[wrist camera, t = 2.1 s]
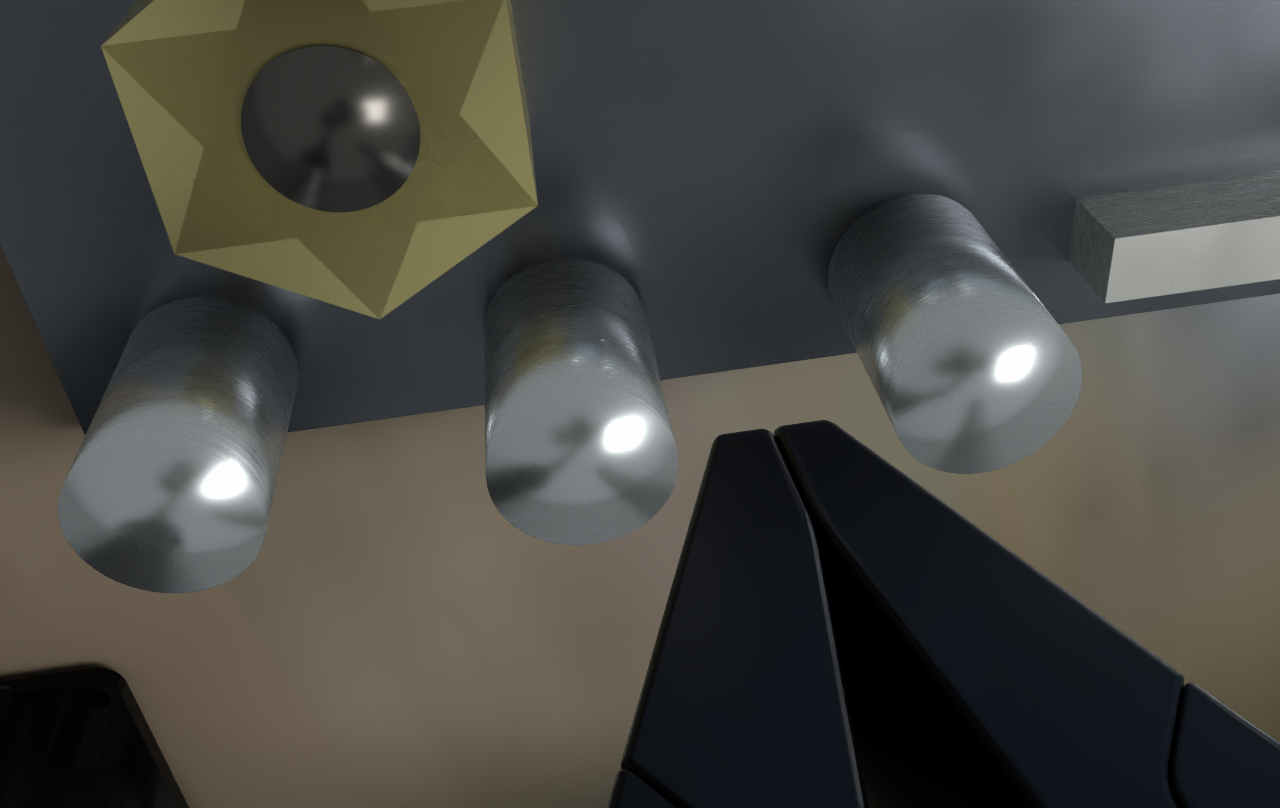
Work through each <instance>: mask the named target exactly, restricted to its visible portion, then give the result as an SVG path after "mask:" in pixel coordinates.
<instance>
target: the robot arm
mask: <svg viewBox="0 0 1280 808" xmlns="http://www.w3.org/2000/svg"><path fill="white" fill-rule="evenodd" d="M1183 687H1184V688H1183ZM96 691H101V692H104V693H99V692H96ZM621 769H622V770H621V771H619V773H618V774H617V776H616V780H615V783H614V786H613V790H612V793H611V797H610V800H609V804H608V807H607V808H1280V743H1279V742H1278V741H1276V740H1275V739H1273V738H1272V737H1270V736H1269V735H1268V734H1266V733H1265V732H1263V731H1262V730H1260V729H1259V728H1257V727H1256V726H1254V725H1253V724H1251V723H1250V722H1249V721H1247V720H1246V719H1244V718H1243V717H1241V716H1240V715H1239V714H1237V713H1236V712H1234V711H1233V710H1232V709H1230V708H1229V707H1227V706H1226V705H1225V704H1223V703H1222V702H1221V701H1219V700H1218V699H1216V698H1215V697H1214V696H1212V695H1211V694H1209V693H1208V692H1207V691H1205V690H1204V689H1203V688H1201V687H1200V686H1198V685H1197V684H1195V683H1187V684H1186V685H1185V686H1184V677H1183V675H1182V674H1181V673H1180V672H1178V671H1177V670H1175V669H1174V668H1173V667H1171V666H1170V665H1168V664H1167V663H1166V662H1164V661H1163V660H1162V659H1160V658H1159V657H1157V656H1156V655H1155V654H1153V653H1152V652H1150V651H1149V650H1148V649H1146V648H1145V647H1143V646H1142V645H1141V644H1139V643H1138V642H1137V641H1135V640H1134V639H1132V638H1131V637H1130V636H1128V635H1127V634H1125V633H1124V632H1123V631H1121V630H1120V629H1119V628H1117V627H1116V626H1114V625H1113V624H1112V623H1110V622H1109V621H1107V620H1106V619H1105V618H1103V617H1102V616H1100V615H1099V614H1098V613H1096V612H1095V611H1094V610H1092V609H1091V608H1089V607H1088V606H1087V605H1085V604H1084V603H1082V602H1081V601H1080V600H1078V599H1077V598H1076V597H1074V596H1073V595H1071V594H1070V593H1069V592H1067V591H1066V590H1064V589H1063V588H1062V587H1060V586H1059V585H1057V584H1056V583H1055V582H1053V581H1052V580H1051V579H1049V578H1048V577H1046V576H1045V575H1044V574H1042V573H1041V572H1039V571H1038V570H1037V569H1035V568H1034V567H1033V566H1031V565H1030V564H1028V563H1027V562H1026V561H1024V560H1023V559H1021V558H1020V557H1019V556H1017V555H1016V554H1014V553H1013V552H1012V551H1010V550H1009V549H1008V548H1006V547H1005V546H1003V545H1002V544H1001V543H999V542H998V541H996V540H995V539H994V538H992V537H991V536H990V535H988V534H987V533H985V532H984V531H983V530H981V529H980V528H978V527H977V526H976V525H974V524H973V523H971V522H970V521H969V520H967V519H966V518H965V517H963V516H962V515H960V514H959V513H958V512H956V511H955V510H953V509H952V508H951V507H949V506H948V505H947V504H945V503H944V502H942V501H941V500H940V499H938V498H937V497H935V496H934V495H933V494H931V493H930V492H929V491H927V490H926V489H924V488H923V487H922V486H920V485H919V484H917V483H916V482H915V481H913V480H912V479H910V478H909V477H908V476H906V475H905V474H904V473H902V472H901V471H899V470H898V469H897V468H895V467H894V466H892V465H891V464H890V463H888V462H887V461H886V460H884V459H883V458H881V457H880V456H879V455H877V454H876V453H874V452H873V451H872V450H870V449H869V448H867V447H866V446H865V445H863V444H862V443H861V442H859V441H858V440H856V439H855V438H854V437H852V436H851V435H849V434H848V433H847V432H845V431H844V430H843V429H841V428H840V427H838V426H837V425H836V424H834V423H832V422H829V421H826V420H820V421H813V422H806V423H799V424H792V425H785V426H781V427H778V428H777V429H776V430H775V432H774V434H772V433H771V432H770V431H768V430H765V429H757V430H750V431H743V432H736V433H729V434H722V435H719V436H718V437H717V438H716V439H715V440H714V442H713V445H712V448H711V451H710V455H709V458H708V462H707V465H706V469H705V472H704V476H703V479H702V483H701V486H700V490H699V493H698V497H697V500H696V504H695V507H694V511H693V514H692V517H691V521H690V524H689V528H688V531H687V535H686V538H685V542H684V545H683V549H682V552H681V556H680V559H679V563H678V566H677V570H676V573H675V577H674V580H673V584H672V587H671V591H670V594H669V598H668V601H667V605H666V608H665V611H664V615H663V618H662V622H661V625H660V629H659V632H658V636H657V639H656V643H655V646H654V650H653V653H652V657H651V660H650V664H649V667H648V671H647V674H646V678H645V681H644V685H643V688H642V692H641V695H640V699H639V702H638V705H637V709H636V712H635V716H634V719H633V723H632V726H631V730H630V733H629V737H628V740H627V744H626V747H625V751H624V754H623V758H622V761H621ZM0 808H189V807H188V805H187V803H186V801H185V799H184V797H183V795H182V793H181V791H180V789H179V787H178V785H177V783H176V781H175V779H174V777H173V775H172V773H171V771H170V769H169V766H168V764H167V762H166V760H165V758H164V756H163V754H162V752H161V750H160V748H159V746H158V744H157V742H156V740H155V738H154V736H153V734H152V732H151V730H150V728H149V726H148V724H147V722H146V720H145V718H144V716H143V714H142V712H141V710H140V708H139V706H138V704H137V702H136V700H135V698H134V696H133V694H132V692H131V690H130V688H129V686H128V684H127V682H126V680H125V679H124V678H123V677H122V675H120V674H118V673H116V672H115V671H112V670H108V669H104V668H95V669H87V670H80V671H74V672H67V673H60V674H53V675H46V676H40V677H33V678H26V679H19V680H12V681H6V682H0Z"/></svg>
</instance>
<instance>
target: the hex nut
mask: <svg viewBox="0 0 1280 808" xmlns="http://www.w3.org/2000/svg"><path fill="white" fill-rule="evenodd" d="M101 48H102V51H103V54H104V57H105V59H106V62H107V65H108V68H109V71H110V73H111V76H112V79H113V82H114V85H115V88H116V90H117V93H118V96H119V99H120V102H121V104H122V107H123V110H124V113H125V116H126V119H127V121H128V124H129V127H130V130H131V133H132V135H133V138H134V141H135V144H136V147H137V150H138V152H139V155H140V158H141V161H142V164H143V166H144V169H145V172H146V175H147V178H148V181H149V183H150V186H151V189H152V192H153V195H154V197H155V200H156V203H157V206H158V209H159V212H160V214H161V217H162V220H163V223H164V226H165V228H166V231H167V234H168V237H169V240H170V243H171V245H172V248H173V251H174V254H176V255H179V256H182V257H185V258H188V259H191V260H194V261H198V262H201V263H204V264H207V265H210V266H213V267H217V268H220V269H223V270H226V271H229V272H232V273H235V274H239V275H242V276H245V277H248V278H251V279H254V280H257V281H261V282H264V283H267V284H270V285H273V286H276V287H280V288H283V289H286V290H289V291H292V292H295V293H298V294H302V295H305V296H308V297H311V298H314V299H317V300H320V301H324V302H327V303H330V304H333V305H336V306H339V307H343V308H346V309H349V310H352V311H355V312H358V313H361V314H365V315H368V316H371V317H374V318H377V319H381V318H383V317H384V316H385V315H387V314H388V313H390V312H391V311H392V310H394V309H395V308H396V307H398V306H399V305H401V304H402V303H403V302H405V301H406V300H408V299H409V298H410V297H412V296H413V295H415V294H416V293H417V292H419V291H420V290H421V289H423V288H424V287H426V286H427V285H428V284H430V283H431V282H433V281H434V280H435V279H437V278H438V277H439V276H441V275H442V274H444V273H445V272H446V271H448V270H449V269H451V268H452V267H453V266H455V265H456V264H458V263H459V262H460V261H462V260H463V259H464V258H466V257H467V256H469V255H470V254H471V253H473V252H474V251H476V250H477V249H478V248H480V247H481V246H483V245H484V244H485V243H487V242H488V241H489V240H491V239H492V238H494V237H495V236H496V235H498V234H499V233H501V232H502V231H503V230H505V229H506V228H508V227H509V226H510V225H512V224H513V223H514V222H516V221H517V220H519V219H520V218H521V217H523V216H524V215H526V214H527V213H528V212H530V211H531V210H533V209H534V208H535V207H537V206H538V201H537V191H536V181H535V171H534V161H533V151H532V141H531V132H530V122H529V116H528V110H527V103H526V97H525V90H524V83H523V77H522V70H521V64H520V57H519V50H518V44H517V37H516V31H515V24H514V18H513V11H512V4H511V0H137V1H136V2H135V3H134V5H133V6H132V7H131V8H130V10H129V11H128V12H127V14H126V15H125V16H124V17H123V19H122V20H121V21H120V22H119V24H118V25H117V26H116V27H115V29H114V30H113V31H112V33H111V34H110V35H109V36H108V38H107V39H106V40H105V41H104V43H103V44H102V45H101Z"/></svg>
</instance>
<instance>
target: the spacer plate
mask: <svg viewBox="0 0 1280 808" xmlns="http://www.w3.org/2000/svg"><path fill="white" fill-rule="evenodd" d="M136 1H137V0H0V246H1V248H2V250H3V252H4V255H5V257H6V259H7V261H8V264H9V266H10V268H11V270H12V272H13V275H14V277H15V279H16V281H17V284H18V286H19V288H20V290H21V293H22V295H23V297H24V299H25V302H26V304H27V306H28V308H29V311H30V313H31V315H32V317H33V319H34V322H35V324H36V326H37V328H38V331H39V333H40V335H41V337H42V340H43V342H44V344H45V346H46V349H47V351H48V353H49V355H50V358H51V360H52V362H53V364H54V366H55V369H56V371H57V373H58V375H59V378H60V380H61V382H62V384H63V387H64V389H65V391H66V393H67V396H68V398H69V400H70V402H71V405H72V407H73V409H74V411H75V413H76V416H77V418H78V420H79V422H80V425H81V427H82V429H83V431H84V434H85V437H84V440H83V442H82V444H81V446H80V449H79V451H78V453H77V455H76V457H75V460H74V462H73V464H72V466H71V469H70V471H69V473H68V475H67V477H66V480H65V482H64V484H63V487H62V489H61V492H60V495H59V501H58V516H59V521H60V525H61V528H62V530H63V533H64V535H65V537H66V539H67V540H68V542H69V544H70V545H71V546H72V548H73V549H74V550H75V552H76V553H77V554H78V555H79V556H80V557H81V558H82V559H83V560H84V561H85V562H86V563H88V564H89V565H90V566H92V567H93V568H94V569H95V570H97V571H99V572H100V573H102V574H104V575H105V576H107V577H109V578H111V579H113V580H115V581H117V582H120V583H123V584H125V585H128V586H131V587H134V588H138V589H142V590H147V591H153V592H161V593H187V592H195V591H201V590H206V589H209V588H212V587H215V586H218V585H220V584H223V583H225V582H227V581H229V580H231V579H233V578H234V577H236V576H237V575H239V574H240V573H241V572H243V571H244V570H245V569H246V568H247V567H248V566H249V565H250V564H251V563H252V562H253V560H254V559H255V558H256V556H257V555H258V553H259V551H260V549H261V547H262V544H263V540H264V537H265V532H266V528H267V523H268V519H269V514H270V509H271V505H272V500H273V496H274V491H275V486H276V482H277V477H278V473H279V468H280V463H281V459H282V454H283V450H284V445H285V440H286V436H287V432H293V431H300V430H307V429H315V428H322V427H329V426H336V425H343V424H350V423H357V422H365V421H372V420H379V419H386V418H393V417H400V416H407V415H414V414H422V413H429V412H436V411H443V410H450V409H457V408H464V407H472V406H479V405H485V449H486V481H487V487H488V490H489V494H490V496H491V498H492V501H493V503H494V505H495V506H496V507H497V509H498V510H499V512H500V513H501V514H502V515H503V516H504V517H505V518H506V519H507V521H509V522H510V523H511V524H512V525H514V526H515V527H516V528H518V529H519V530H521V531H523V532H524V533H526V534H528V535H531V536H533V537H535V538H538V539H541V540H544V541H547V542H552V543H557V544H565V545H588V544H596V543H601V542H606V541H609V540H613V539H616V538H619V537H621V536H623V535H626V534H628V533H630V532H632V531H634V530H635V529H637V528H639V527H640V526H642V525H643V524H645V523H646V522H648V521H649V520H650V519H651V518H652V517H653V516H654V515H655V514H656V513H657V512H658V511H659V510H660V509H661V508H662V507H663V505H664V504H665V502H666V501H667V499H668V498H669V496H670V494H671V492H672V490H673V488H674V485H675V482H676V479H677V473H678V455H677V450H676V445H675V441H674V437H673V432H672V428H671V424H670V419H669V415H668V411H667V406H666V402H665V398H664V393H663V389H662V385H661V380H664V379H671V378H679V377H686V376H693V375H700V374H707V373H714V372H721V371H728V370H736V369H743V368H750V367H757V366H764V365H771V364H778V363H786V362H793V361H800V360H807V359H814V358H821V357H828V356H836V355H843V354H850V353H858V355H859V357H860V359H861V362H862V364H863V366H864V368H865V370H866V372H867V374H868V376H869V378H870V380H871V382H872V384H873V386H874V388H875V390H876V392H877V394H878V396H879V398H880V400H881V402H882V404H883V406H884V408H885V410H886V412H887V414H888V416H889V418H890V420H891V423H892V425H893V427H894V429H895V431H896V433H897V435H898V437H899V439H900V441H901V442H902V444H903V445H904V447H905V448H906V449H907V451H908V452H909V453H910V454H911V455H912V456H913V457H915V458H916V459H917V460H918V461H920V462H922V463H923V464H925V465H927V466H929V467H932V468H934V469H937V470H941V471H944V472H950V473H957V474H972V473H982V472H987V471H992V470H996V469H999V468H1002V467H1005V466H1008V465H1010V464H1013V463H1015V462H1017V461H1019V460H1021V459H1023V458H1025V457H1027V456H1029V455H1030V454H1032V453H1033V452H1035V451H1036V450H1038V449H1039V448H1040V447H1042V446H1043V445H1044V444H1045V443H1047V442H1048V441H1049V440H1050V439H1051V438H1052V437H1053V436H1054V435H1055V434H1056V433H1057V432H1058V431H1059V430H1060V428H1061V427H1062V426H1063V425H1064V423H1065V422H1066V420H1067V419H1068V418H1069V416H1070V414H1071V412H1072V411H1073V409H1074V407H1075V405H1076V402H1077V399H1078V397H1079V393H1080V389H1081V384H1082V367H1081V362H1080V358H1079V354H1078V352H1077V350H1076V348H1075V346H1074V345H1073V343H1072V342H1071V340H1070V339H1069V338H1068V336H1067V335H1066V334H1065V332H1064V331H1063V330H1062V329H1061V327H1060V326H1059V325H1058V324H1064V323H1071V322H1078V321H1085V320H1092V319H1100V318H1107V317H1114V316H1121V315H1128V314H1135V313H1142V312H1150V311H1157V310H1164V309H1171V308H1178V307H1185V306H1192V305H1200V304H1207V303H1214V302H1221V301H1228V300H1235V299H1242V298H1249V297H1257V296H1264V295H1271V294H1278V293H1280V0H511V4H512V11H513V18H514V24H515V31H516V37H517V44H518V50H519V57H520V64H521V70H522V77H523V83H524V90H525V97H526V103H527V110H528V116H529V122H530V132H531V141H532V151H533V161H534V171H535V181H536V191H537V201H538V206H537V207H535V208H534V209H533V210H531V211H530V212H528V213H527V214H526V215H524V216H523V217H521V218H520V219H519V220H517V221H516V222H514V223H513V224H512V225H510V226H509V227H508V228H506V229H505V230H503V231H502V232H501V233H499V234H498V235H496V236H495V237H494V238H492V239H491V240H489V241H488V242H487V243H485V244H484V245H483V246H481V247H480V248H478V249H477V250H476V251H474V252H473V253H471V254H470V255H469V256H467V257H466V258H464V259H463V260H462V261H460V262H459V263H458V264H456V265H455V266H453V267H452V268H451V269H449V270H448V271H446V272H445V273H444V274H442V275H441V276H439V277H438V278H437V279H435V280H434V281H433V282H431V283H430V284H428V285H427V286H426V287H424V288H423V289H421V290H420V291H419V292H417V293H416V294H415V295H413V296H412V297H410V298H409V299H408V300H406V301H405V302H403V303H402V304H401V305H399V306H398V307H396V308H395V309H394V310H392V311H391V312H390V313H388V314H387V315H385V316H384V317H383V318H381V319H377V318H374V317H371V316H368V315H365V314H361V313H358V312H355V311H352V310H349V309H346V308H343V307H339V306H336V305H333V304H330V303H327V302H324V301H320V300H317V299H314V298H311V297H308V296H305V295H302V294H298V293H295V292H292V291H289V290H286V289H283V288H280V287H276V286H273V285H270V284H267V283H264V282H261V281H257V280H254V279H251V278H248V277H245V276H242V275H239V274H235V273H232V272H229V271H226V270H223V269H220V268H217V267H213V266H210V265H207V264H204V263H201V262H198V261H194V260H191V259H188V258H185V257H182V256H179V255H176V254H174V251H173V248H172V245H171V243H170V240H169V237H168V234H167V231H166V228H165V226H164V223H163V220H162V217H161V214H160V212H159V209H158V206H157V203H156V200H155V197H154V195H153V192H152V189H151V186H150V183H149V181H148V178H147V175H146V172H145V169H144V166H143V164H142V161H141V158H140V155H139V152H138V150H137V147H136V144H135V141H134V138H133V135H132V133H131V130H130V127H129V124H128V121H127V119H126V116H125V113H124V110H123V107H122V104H121V102H120V99H119V96H118V93H117V90H116V88H115V85H114V82H113V79H112V76H111V73H110V71H109V68H108V65H107V62H106V59H105V57H104V54H103V51H102V48H101V45H102V44H103V43H104V41H105V40H106V39H107V38H108V36H109V35H110V34H111V33H112V31H113V30H114V29H115V27H116V26H117V25H118V24H119V22H120V21H121V20H122V19H123V17H124V16H125V15H126V14H127V12H128V11H129V10H130V8H131V7H132V6H133V5H134V3H135V2H136Z"/></svg>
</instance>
